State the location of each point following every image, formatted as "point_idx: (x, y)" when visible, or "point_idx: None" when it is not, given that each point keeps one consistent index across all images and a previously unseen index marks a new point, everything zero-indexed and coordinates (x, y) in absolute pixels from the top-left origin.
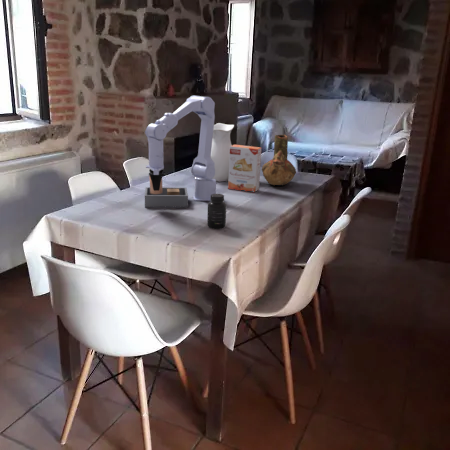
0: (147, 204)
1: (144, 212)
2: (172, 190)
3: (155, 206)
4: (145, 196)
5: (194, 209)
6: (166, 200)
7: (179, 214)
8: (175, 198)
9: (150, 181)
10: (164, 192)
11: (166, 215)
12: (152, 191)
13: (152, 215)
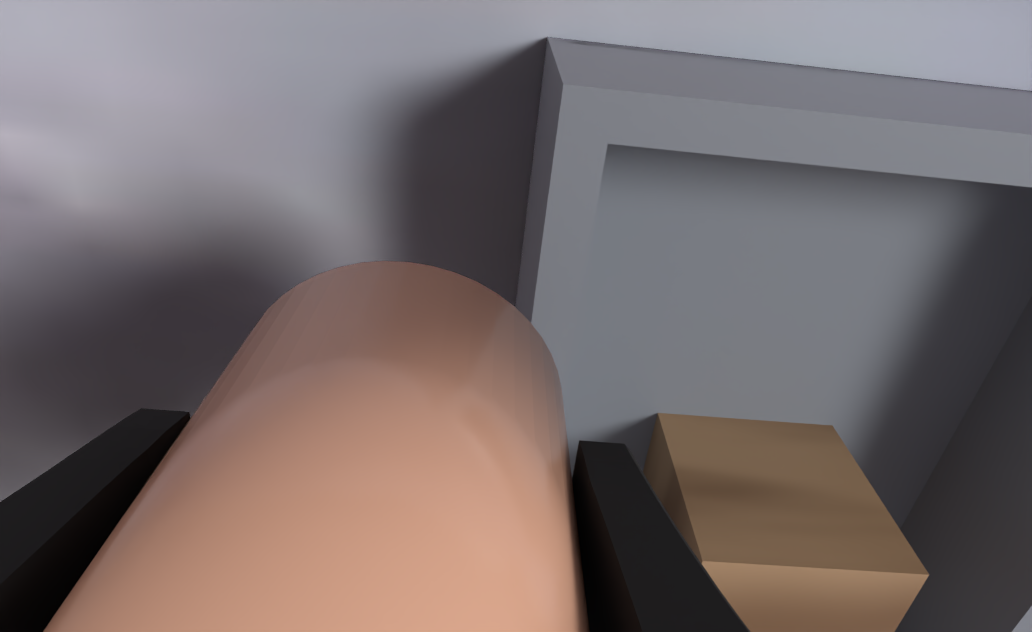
0: (545, 102)
1: (224, 3)
2: (764, 629)
3: (526, 232)
4: (560, 101)
5: None
6: None
7: None
8: None
9: (140, 558)
10: (1029, 463)
11: (112, 337)
12: (241, 349)
13: (65, 137)
